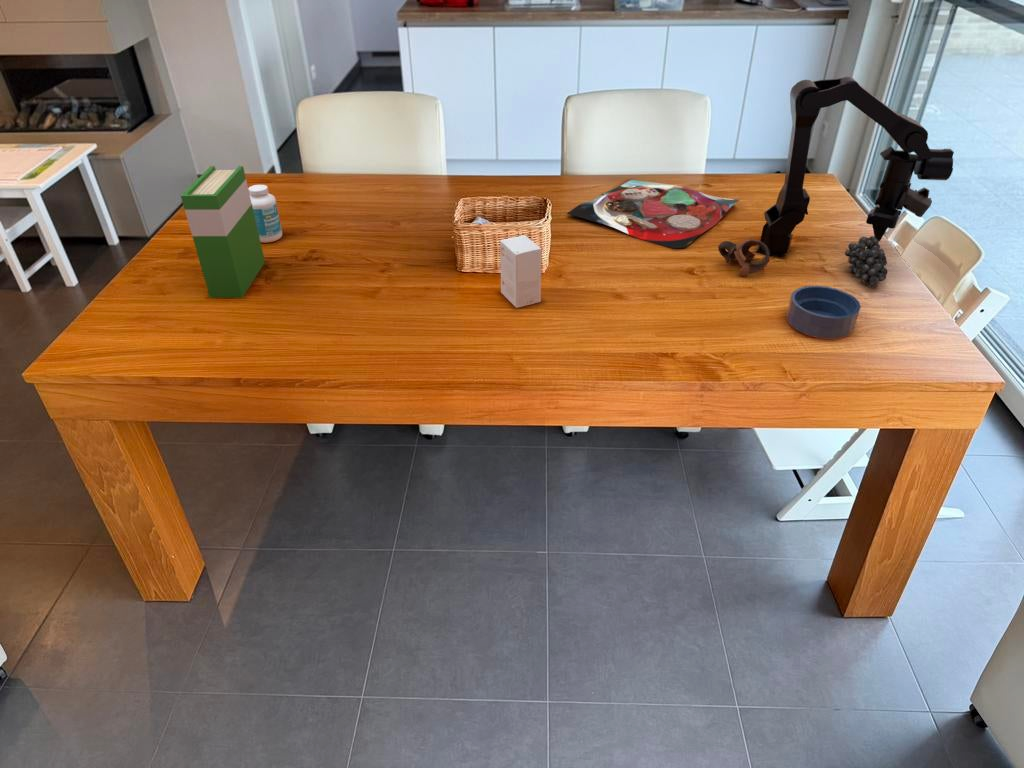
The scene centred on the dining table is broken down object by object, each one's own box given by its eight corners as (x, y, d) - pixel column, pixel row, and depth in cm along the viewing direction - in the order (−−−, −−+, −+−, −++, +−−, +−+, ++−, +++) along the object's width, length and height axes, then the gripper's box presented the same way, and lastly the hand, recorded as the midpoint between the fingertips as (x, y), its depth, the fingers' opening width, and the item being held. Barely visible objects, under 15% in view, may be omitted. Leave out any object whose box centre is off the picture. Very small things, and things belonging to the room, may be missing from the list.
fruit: (894, 257, 159) (879, 227, 171) (852, 265, 162) (841, 235, 174) (896, 291, 164) (881, 260, 175) (855, 299, 166) (844, 267, 178)
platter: (630, 179, 222) (631, 173, 221) (739, 207, 205) (740, 200, 204) (565, 216, 200) (565, 210, 199) (681, 251, 183) (682, 244, 182)
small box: (541, 302, 163) (542, 248, 156) (515, 308, 161) (515, 254, 153) (525, 286, 169) (525, 234, 161) (500, 292, 167) (499, 239, 159)
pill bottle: (272, 245, 188) (261, 194, 180) (247, 241, 190) (235, 191, 182) (288, 233, 194) (278, 184, 186) (264, 230, 196) (253, 180, 188)
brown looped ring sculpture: (763, 261, 179) (777, 242, 172) (754, 292, 175) (767, 273, 168) (716, 244, 180) (728, 224, 173) (706, 274, 176) (717, 255, 169)
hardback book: (235, 262, 181) (210, 166, 167) (265, 262, 181) (243, 166, 166) (209, 297, 166) (180, 195, 152) (242, 297, 166) (216, 195, 152)
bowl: (778, 330, 153) (784, 307, 150) (794, 302, 162) (800, 280, 159) (846, 347, 147) (853, 324, 144) (858, 318, 157) (866, 295, 153)
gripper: (930, 198, 159) (908, 263, 168) (940, 171, 172) (919, 233, 181) (875, 188, 164) (856, 252, 173) (889, 163, 177) (871, 224, 186)
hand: (877, 240), depth 178 cm, fingers closed
